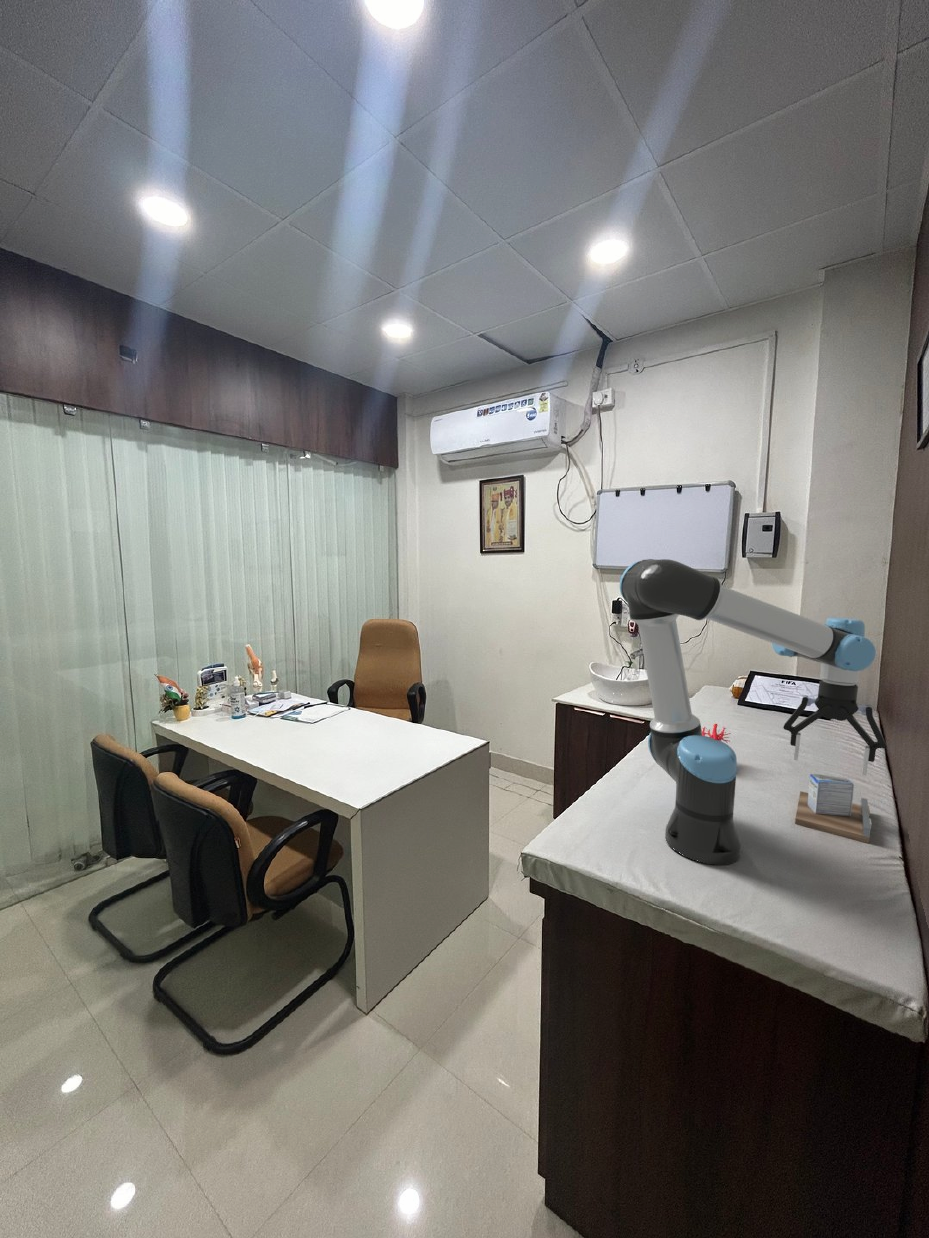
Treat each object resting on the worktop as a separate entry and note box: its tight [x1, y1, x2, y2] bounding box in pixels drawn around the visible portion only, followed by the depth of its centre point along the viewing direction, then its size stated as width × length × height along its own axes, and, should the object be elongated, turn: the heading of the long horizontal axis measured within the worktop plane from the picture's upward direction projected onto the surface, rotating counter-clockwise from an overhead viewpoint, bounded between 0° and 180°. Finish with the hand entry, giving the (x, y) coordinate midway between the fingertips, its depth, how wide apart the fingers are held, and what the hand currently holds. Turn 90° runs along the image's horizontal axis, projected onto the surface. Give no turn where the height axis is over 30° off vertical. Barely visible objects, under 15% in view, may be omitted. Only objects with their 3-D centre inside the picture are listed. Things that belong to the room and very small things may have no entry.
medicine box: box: [808, 773, 855, 816], centre depth 123 cm, size 8×4×9 cm, turn 78°
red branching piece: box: [702, 723, 732, 744], centre depth 155 cm, size 10×12×12 cm
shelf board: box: [794, 791, 872, 844], centre depth 123 cm, size 18×14×4 cm
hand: (828, 765), depth 123 cm, fingers open, 13 cm apart
